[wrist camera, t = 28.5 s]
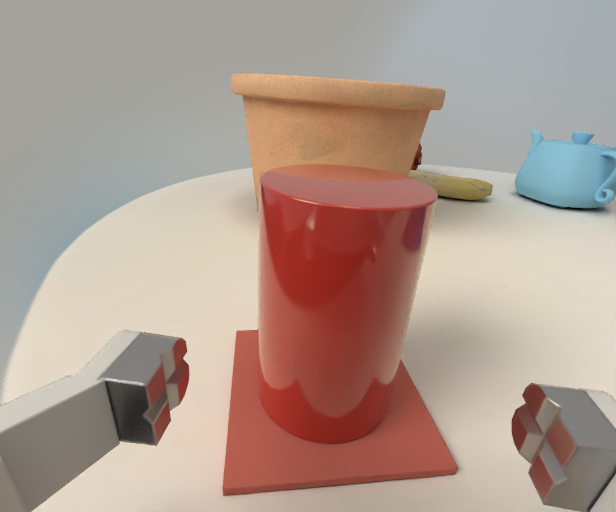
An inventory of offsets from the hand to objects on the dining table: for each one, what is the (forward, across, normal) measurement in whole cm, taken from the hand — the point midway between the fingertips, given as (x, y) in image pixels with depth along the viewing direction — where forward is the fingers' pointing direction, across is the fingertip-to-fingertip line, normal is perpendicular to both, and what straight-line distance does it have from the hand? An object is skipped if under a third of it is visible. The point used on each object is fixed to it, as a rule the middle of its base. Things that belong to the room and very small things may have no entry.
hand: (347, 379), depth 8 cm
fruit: (+51, +15, -7) cm, 54 cm away
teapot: (+54, +34, -7) cm, 64 cm away
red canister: (+6, 0, -7) cm, 9 cm away
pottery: (+35, -2, -7) cm, 36 cm away
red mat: (+6, 0, -7) cm, 9 cm away
